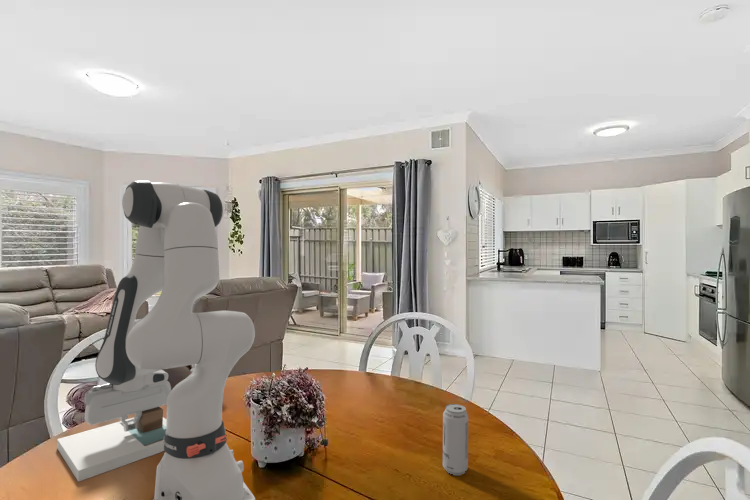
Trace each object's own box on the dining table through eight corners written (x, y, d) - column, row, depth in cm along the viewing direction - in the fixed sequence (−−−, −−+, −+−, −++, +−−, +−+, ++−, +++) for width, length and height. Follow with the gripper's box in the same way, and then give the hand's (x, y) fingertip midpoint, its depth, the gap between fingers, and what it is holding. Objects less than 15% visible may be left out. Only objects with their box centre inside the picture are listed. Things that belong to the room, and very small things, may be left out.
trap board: (186, 443, 108) (186, 433, 108) (78, 481, 90) (78, 470, 90) (155, 419, 122) (155, 411, 122) (57, 448, 104) (57, 439, 104)
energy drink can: (441, 462, 99) (442, 402, 99) (466, 463, 98) (466, 403, 98) (443, 475, 93) (443, 412, 93) (469, 477, 92) (470, 413, 92)
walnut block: (162, 427, 111) (163, 409, 112) (143, 432, 108) (143, 414, 108) (155, 422, 115) (156, 404, 115) (136, 427, 111) (137, 409, 111)
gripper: (88, 391, 97) (87, 447, 97) (174, 372, 113) (173, 421, 113) (81, 385, 101) (80, 439, 102) (165, 368, 117) (164, 414, 117)
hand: (130, 429), depth 107 cm, fingers closed
